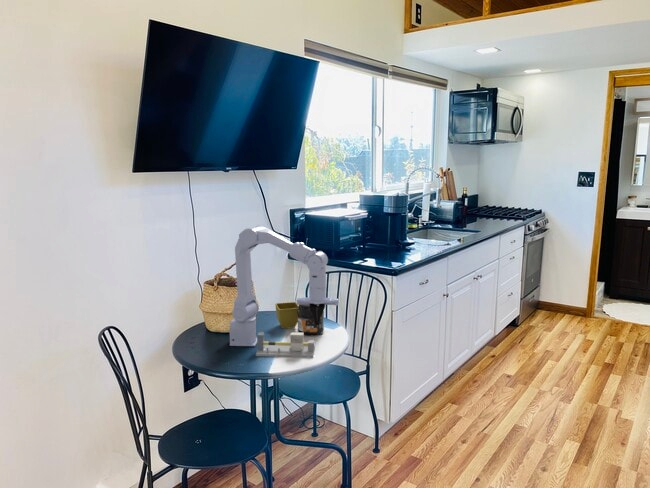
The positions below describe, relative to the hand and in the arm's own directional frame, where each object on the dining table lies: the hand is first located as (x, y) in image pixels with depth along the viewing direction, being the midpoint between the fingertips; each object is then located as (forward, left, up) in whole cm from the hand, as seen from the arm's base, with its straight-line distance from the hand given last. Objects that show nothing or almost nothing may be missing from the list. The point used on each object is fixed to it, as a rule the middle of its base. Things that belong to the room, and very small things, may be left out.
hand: (317, 324), depth 173 cm
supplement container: (-4, +21, -11) cm, 24 cm away
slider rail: (-11, 0, -10) cm, 15 cm away
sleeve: (-7, 0, -9) cm, 12 cm away
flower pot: (-14, +27, -11) cm, 32 cm away
